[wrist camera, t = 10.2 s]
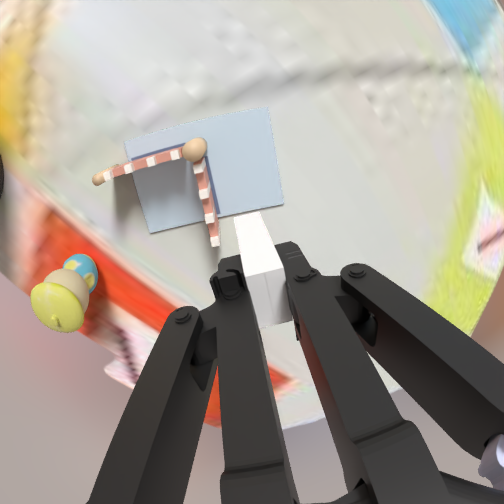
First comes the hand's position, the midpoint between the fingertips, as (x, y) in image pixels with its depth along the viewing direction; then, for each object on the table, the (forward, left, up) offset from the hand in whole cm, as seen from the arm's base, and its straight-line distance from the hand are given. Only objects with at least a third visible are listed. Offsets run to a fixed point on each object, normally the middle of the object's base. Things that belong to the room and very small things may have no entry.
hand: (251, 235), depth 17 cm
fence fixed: (-10, +4, -23) cm, 25 cm away
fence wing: (-4, -2, -22) cm, 22 cm away
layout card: (-4, +1, -23) cm, 23 cm away
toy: (-27, -9, -23) cm, 36 cm away
